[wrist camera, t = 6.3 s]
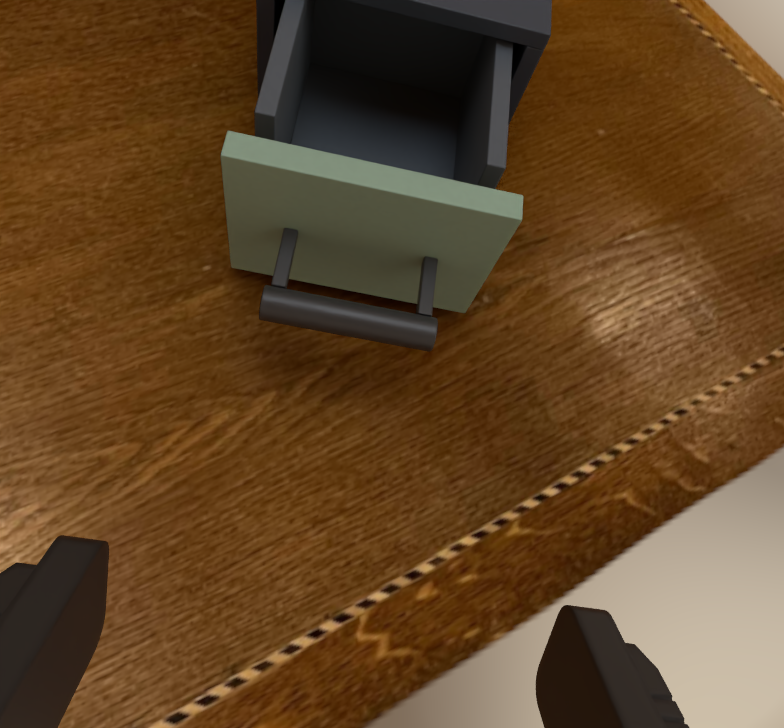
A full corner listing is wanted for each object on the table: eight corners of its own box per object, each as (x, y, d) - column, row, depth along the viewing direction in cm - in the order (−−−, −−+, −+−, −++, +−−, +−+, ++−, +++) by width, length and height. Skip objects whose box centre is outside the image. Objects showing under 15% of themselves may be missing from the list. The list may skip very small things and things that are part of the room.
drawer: (458, 392, 30) (518, 316, 23) (209, 347, 28) (191, 252, 21) (482, 108, 37) (532, -16, 30) (284, 62, 36) (289, -80, 29)
